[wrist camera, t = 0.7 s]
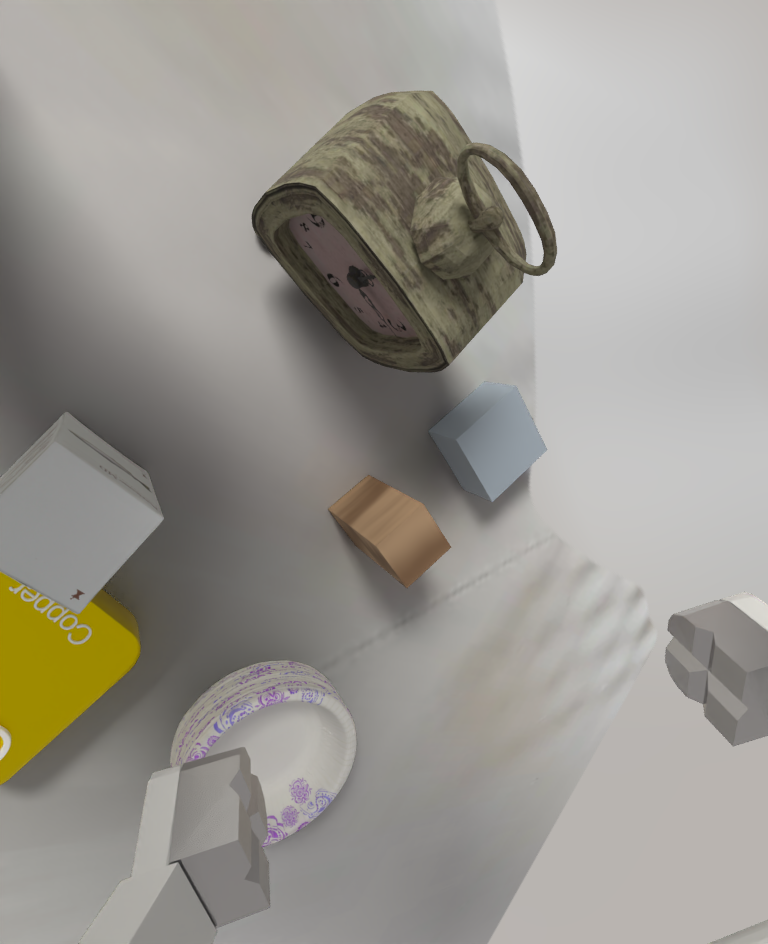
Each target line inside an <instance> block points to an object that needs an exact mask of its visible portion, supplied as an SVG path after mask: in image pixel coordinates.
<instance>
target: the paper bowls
mask: <svg viewBox="0 0 768 944" xmlns="http://www.w3.org/2000/svg"><path fill="white" fill-rule="evenodd" d="M240 747H245V748H246V751H247V753H248V755H249V757H250V759H251V774H253V775H255V776H257V777H258V779H259V782H260V784H261V787H262V791H263V795H264V799H265V806H266V813H267V825H268V836H267V838H266V840H265V842H264V844H263V846H262V847H264V846H267V845H271V844H273V843H275V842H278V841H280V840H282V839H285V838H286V837H288V836H290V835H292V834H294V833H295V832H297V831H299V830H300V829H302V828H303V827H305V826H306V825H308V824H309V823H310V822H312V821H313V820H314V819H315V818H316V817H318V816H319V815H320V814H321V813H322V812H323V811H324V810H325V809H326V808H327V807H328V805H329V804H330V803H331V802H332V801H333V799H334V798H335V797H336V796H337V794H338V793H339V791H340V790H341V788H342V787H343V785H344V783H345V781H346V780H347V778H348V775H349V773H350V771H351V768H352V766H353V762H354V759H355V754H356V747H357V736H356V728H355V724H354V721H353V718H352V716H351V713H350V712H349V710H348V709H347V707H346V706H345V704H344V702H343V701H342V699H341V697H340V696H339V694H338V693H337V691H336V689H335V688H334V687H333V685H332V684H331V683H330V682H329V680H328V679H327V678H326V677H325V676H324V675H323V674H321V673H320V672H319V671H317V670H316V669H314V668H313V667H311V666H308V665H306V664H302V663H300V662H294V661H288V660H277V661H266V662H261V663H256V664H254V665H250V666H247V667H244V668H242V669H240V670H237V671H235V672H233V673H231V674H229V675H227V676H225V677H224V678H222V679H221V680H219V681H218V682H217V683H215V684H214V685H212V686H211V687H210V688H209V689H208V690H206V691H205V692H204V693H203V694H202V695H201V696H200V697H199V698H198V699H197V700H196V702H195V703H194V704H193V705H192V706H191V708H190V709H189V710H188V711H187V713H186V714H185V715H184V717H183V718H182V720H181V722H180V724H179V726H178V728H177V730H176V734H175V736H174V739H173V743H172V748H171V756H170V764H171V767H173V766H177V765H180V764H184V763H186V762H190V761H194V760H197V759H201V758H204V757H208V756H212V755H215V754H219V753H222V752H226V751H230V750H233V749H237V748H240Z"/></svg>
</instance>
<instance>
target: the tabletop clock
mask: <svg viewBox="0 0 768 944" xmlns="http://www.w3.org/2000/svg"><path fill="white" fill-rule="evenodd" d="M481 158H483V159H485V160H486V161H488V162H489V163H491V164H492V165H493V166H495V167H496V168H497V169H498V170H499V171H500V172H501V173H502V174H503V175H504V176H505V178H506V179H507V180H508V181H509V182H510V183H511V185H512V186H513V188H514V189H515V191H516V193H517V194H518V196H519V197H520V199H521V200H522V202H523V204H524V205H525V207H526V209H527V211H528V213H529V215H530V216H531V218H532V220H533V222H534V224H535V226H536V229H537V231H538V233H539V235H540V238H541V240H542V245H543V250H544V257H543V262H542V264H541V265H540V266H533V265H530V264H528V263H527V262H526V249H525V244H524V240H523V237H522V234H521V232H520V230H519V228H518V225H517V223H516V221H515V219H514V218H513V216H512V214H511V212H510V210H509V208H508V206H507V204H506V202H505V200H504V198H503V196H502V194H501V193H500V191H499V189H498V187H497V185H496V183H495V181H494V179H493V177H492V175H491V174H490V172H489V170H488V169H487V167H486V166H485V164H484V162H483V161H482V159H481ZM252 224H253V228H254V231H255V233H256V234H257V235H258V236H259V237H260V238H261V240H262V241H263V243H264V244H265V246H266V247H267V248H268V250H269V251H270V252H271V254H272V255H273V256H274V257H275V259H276V260H277V261H278V262H279V264H280V265H281V266H282V267H283V268H284V270H285V271H286V272H287V273H288V275H289V276H290V277H291V278H292V279H293V281H294V282H295V283H296V284H297V286H298V287H299V288H300V289H301V290H302V292H303V293H304V294H305V295H306V297H307V298H308V299H309V300H310V301H311V302H312V303H313V304H314V306H315V307H316V308H317V309H318V310H319V311H320V312H321V313H322V315H323V316H324V317H325V318H326V319H327V320H328V321H329V322H330V324H331V325H332V326H333V327H334V328H335V329H336V330H337V331H338V332H339V334H340V335H341V336H342V337H343V338H344V339H345V340H346V341H347V342H348V343H349V344H350V345H351V346H352V347H353V348H354V349H355V350H356V351H357V352H358V353H360V354H361V355H362V356H363V357H365V358H367V359H369V360H371V361H373V362H375V363H377V364H380V365H383V366H386V367H390V368H394V369H399V370H403V371H408V372H437V371H442V370H443V369H445V368H446V367H447V366H448V365H450V363H451V362H452V361H453V360H454V359H455V358H456V357H457V356H458V354H459V353H460V352H461V351H462V350H463V349H464V348H465V347H466V345H467V344H468V343H469V342H470V341H471V340H472V339H473V338H474V336H475V335H476V334H477V333H478V332H479V331H480V330H481V329H482V327H483V326H484V325H485V324H486V323H487V322H488V321H489V320H490V318H491V317H492V316H493V315H494V314H495V313H496V312H497V311H498V309H499V308H500V307H501V306H502V305H503V304H504V303H505V302H506V301H507V299H508V298H509V297H510V296H511V295H512V294H513V293H514V292H515V290H516V289H517V288H518V287H519V286H520V285H521V284H522V283H523V276H524V273H527V274H529V275H533V276H540V275H543V274H545V273H547V272H548V271H549V270H550V269H551V267H552V266H553V265H554V263H555V259H556V254H557V246H556V237H555V231H554V229H553V226H552V223H551V221H550V218H549V215H548V212H547V211H546V209H545V207H544V205H543V203H542V201H541V199H540V197H539V195H538V194H537V192H536V190H535V188H534V187H533V185H532V184H531V183H530V181H529V180H528V178H527V177H526V175H525V174H524V173H523V171H522V170H521V169H520V168H519V167H518V166H517V165H516V164H515V163H514V162H513V161H512V160H511V159H510V158H509V157H508V156H507V155H506V154H504V153H503V152H501V151H499V150H498V149H496V148H494V147H492V146H491V145H487V144H482V143H471V141H470V139H469V138H468V136H467V135H466V133H465V131H464V130H463V128H462V126H461V125H460V123H459V122H458V120H457V119H456V117H455V116H454V114H453V113H452V112H451V110H450V109H449V108H448V107H447V105H446V104H445V103H444V102H443V101H442V100H441V99H440V98H439V97H438V96H437V95H436V94H435V93H434V92H433V91H407V92H391V93H387V94H383V95H380V96H377V97H374V98H372V99H370V100H369V101H367V102H365V103H364V104H362V105H360V106H359V107H357V108H355V109H354V110H352V111H350V112H349V113H347V114H346V115H345V116H344V117H343V118H342V119H341V120H340V121H339V122H338V123H337V124H336V125H335V126H334V127H333V128H332V129H331V130H330V131H328V132H327V133H326V134H325V135H324V136H323V137H322V138H321V139H320V140H319V141H318V142H317V143H316V144H315V145H314V146H313V147H312V148H311V149H310V150H309V151H308V152H307V153H306V154H305V155H304V156H303V157H302V158H301V159H300V160H299V161H297V162H296V163H295V164H294V165H293V166H292V167H291V168H290V169H289V170H288V171H287V172H286V173H285V174H284V175H283V176H282V177H281V178H280V179H279V180H278V181H277V182H276V183H275V184H274V185H273V186H272V187H271V188H270V189H269V190H268V191H266V192H265V194H264V195H263V196H262V198H261V199H260V200H259V201H258V203H257V204H256V205H255V207H254V209H253V213H252Z"/></svg>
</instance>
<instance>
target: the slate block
mask: <svg viewBox="0 0 768 944" xmlns="http://www.w3.org/2000/svg"><path fill="white" fill-rule="evenodd" d="M428 432H429V434H430V435H431V437H432V438H433V440H434V442H435V443H436V445H437V447H438V448H439V450H440V452H441V453H442V455H443V456H444V458H445V460H446V461H447V463H448V465H449V466H450V468H451V470H452V471H453V473H454V474H455V476H456V478H457V479H458V481H459V483H460V484H461V486H462V488H463V489H464V490H466V491H468V492H470V493H473V494H475V495H477V496H480V497H482V498H484V499H487V500H489V501H491V502H493V501H494V500H495V499H496V498H497V497H498V496H499V495H501V494H502V493H503V492H504V491H505V490H506V489H507V488H508V487H509V486H510V485H511V484H512V483H513V482H514V481H515V480H516V479H517V478H518V477H519V476H520V475H521V474H522V473H524V472H525V471H526V470H527V469H528V468H529V467H530V466H531V465H532V464H533V463H534V462H535V461H536V460H537V459H538V458H539V457H540V456H541V455H542V454H543V453H544V452H546V450H547V448H546V446H545V444H544V442H543V440H542V438H541V436H540V434H539V432H538V430H537V428H536V426H535V423H534V421H533V419H532V417H531V415H530V413H529V411H528V409H527V407H526V405H525V403H524V401H523V399H522V397H521V395H520V393H519V391H518V389H517V387H516V386H514V385H506V384H499V383H492V382H483V383H482V384H481V385H480V386H479V387H478V388H477V389H475V390H474V391H473V392H472V393H471V394H470V395H469V396H467V397H466V398H465V399H464V400H463V401H462V402H461V403H459V404H458V405H457V406H456V407H455V408H454V409H453V410H452V411H450V412H449V413H448V414H447V415H446V416H445V417H444V418H442V419H441V420H440V421H439V422H438V423H437V424H436V425H434V426H433V427H432V428H431V429H430V430H429V431H428Z"/></svg>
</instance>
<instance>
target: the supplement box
mask: <svg viewBox="0 0 768 944" xmlns="http://www.w3.org/2000/svg"><path fill="white" fill-rule="evenodd" d="M163 520H164V517H163V514H162V512H161V509H160V506H159V503H158V500H157V497H156V494H155V491H154V488H153V485H152V482H151V480H150V477H149V474H148V472H147V471H146V470H144V469H143V468H141V467H140V466H138V465H137V464H135V463H134V462H132V461H131V460H130V459H128V458H127V457H125V456H124V455H123V454H121V453H120V452H119V451H117V450H116V449H114V448H113V447H112V446H110V445H109V444H108V443H106V442H105V441H104V440H103V439H101V438H100V437H99V436H97V435H96V434H95V433H93V432H92V431H91V430H90V429H88V428H87V427H86V426H84V425H83V424H82V423H81V422H79V421H78V420H77V419H76V418H75V417H73V416H72V415H71V414H70V413H68V412H65V413H64V414H63V415H62V416H61V417H60V418H59V419H58V420H57V421H56V422H55V423H54V424H53V425H52V426H51V427H50V428H49V429H48V430H47V431H46V432H45V433H44V434H43V435H42V436H41V437H40V438H39V439H38V440H37V441H36V442H35V443H34V444H33V445H32V446H31V447H30V448H29V449H28V450H27V451H26V452H25V453H24V454H23V455H22V456H21V457H20V458H19V459H18V460H17V461H16V462H15V463H14V464H13V465H12V466H11V468H10V469H9V470H8V471H7V472H6V473H5V474H4V475H3V476H2V477H1V478H0V572H2V573H4V574H5V575H7V576H9V577H11V578H12V579H14V580H16V581H17V582H19V583H21V584H22V585H24V586H26V587H29V588H31V589H33V590H34V591H36V592H38V593H40V594H42V595H43V596H45V597H47V598H49V599H51V600H52V601H54V602H56V603H58V604H60V605H61V606H63V607H65V608H67V609H69V610H70V611H72V612H73V613H75V614H80V613H81V612H82V610H83V609H84V608H85V607H86V606H87V605H88V603H89V602H90V601H91V600H92V599H93V598H94V597H95V596H96V594H97V593H98V592H99V591H100V590H101V589H102V588H103V587H104V585H105V584H106V583H107V582H108V581H109V580H110V579H111V578H112V576H113V575H114V574H115V573H116V572H117V571H118V570H119V568H120V567H121V566H122V565H123V564H124V563H125V562H126V561H127V560H128V558H129V557H130V556H131V555H132V554H133V553H134V552H135V551H136V550H137V549H138V547H139V546H140V545H141V544H142V543H143V542H144V541H145V540H146V539H147V538H148V536H149V535H150V534H151V533H152V532H153V531H154V530H155V529H156V528H157V527H158V526H159V524H160V523H161V522H162V521H163Z"/></svg>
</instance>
